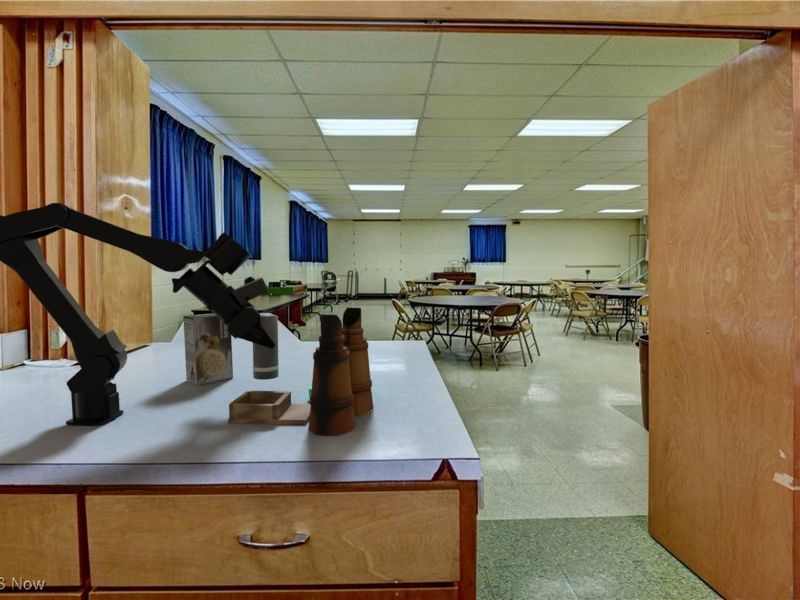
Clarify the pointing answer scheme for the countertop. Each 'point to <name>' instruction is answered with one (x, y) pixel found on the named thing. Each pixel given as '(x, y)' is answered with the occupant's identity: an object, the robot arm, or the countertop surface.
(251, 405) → the brown square-cornered frame
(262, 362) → the grey round-topped cylinder
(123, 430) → the countertop surface
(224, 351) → the coffee box
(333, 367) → the binoculars
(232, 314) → the robot arm
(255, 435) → the countertop surface
